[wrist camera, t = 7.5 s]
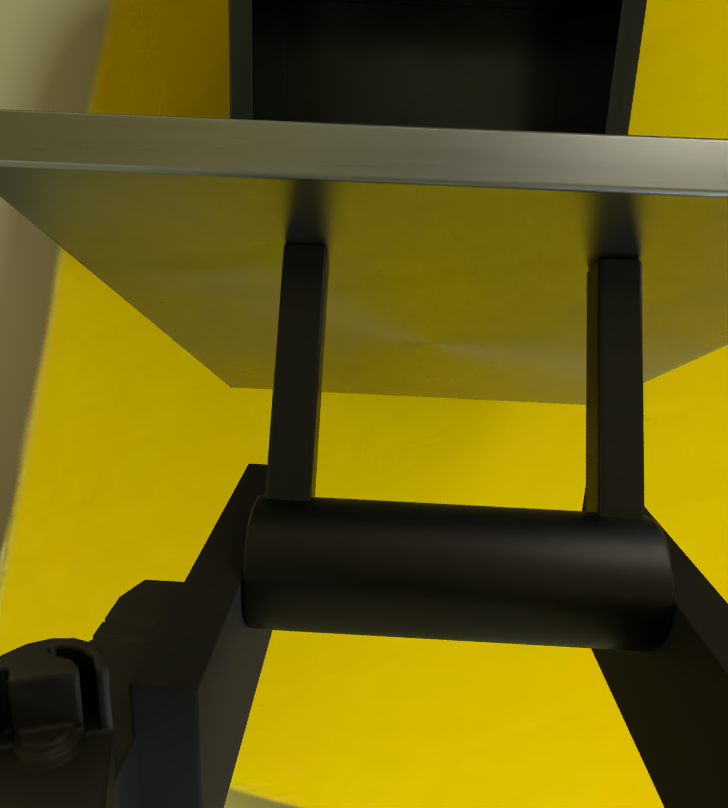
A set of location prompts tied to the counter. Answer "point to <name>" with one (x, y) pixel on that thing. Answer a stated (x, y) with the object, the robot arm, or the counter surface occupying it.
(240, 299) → the lid
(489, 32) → the black hollow box
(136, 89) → the counter surface
